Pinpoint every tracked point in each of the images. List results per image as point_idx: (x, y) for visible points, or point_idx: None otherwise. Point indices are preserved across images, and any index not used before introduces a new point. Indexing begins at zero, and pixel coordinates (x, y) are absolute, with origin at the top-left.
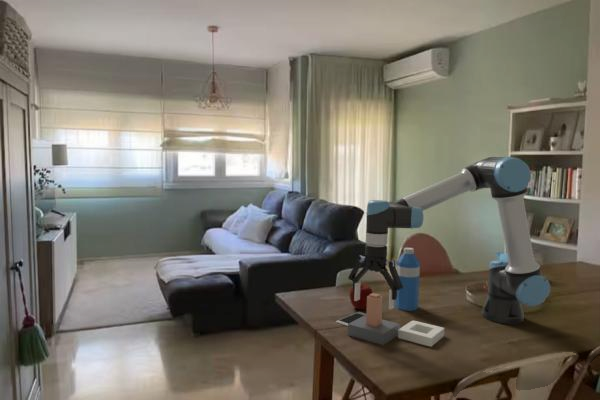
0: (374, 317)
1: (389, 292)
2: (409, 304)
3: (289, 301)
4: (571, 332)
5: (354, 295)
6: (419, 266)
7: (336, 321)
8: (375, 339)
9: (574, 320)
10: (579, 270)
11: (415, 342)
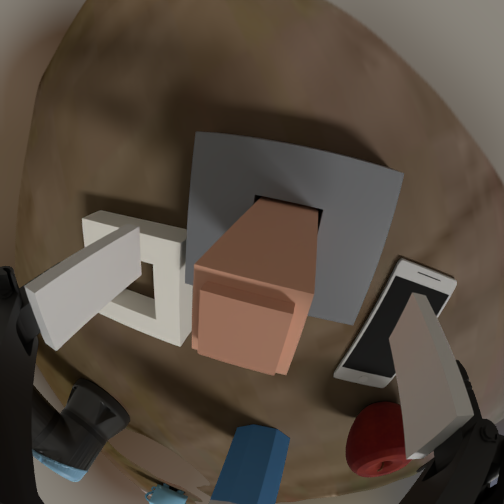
0: (259, 214)
1: (48, 283)
2: (244, 438)
3: None
4: (39, 357)
5: (438, 321)
6: None
7: (454, 282)
8: (248, 136)
9: (59, 391)
10: (139, 484)
11: (138, 218)
